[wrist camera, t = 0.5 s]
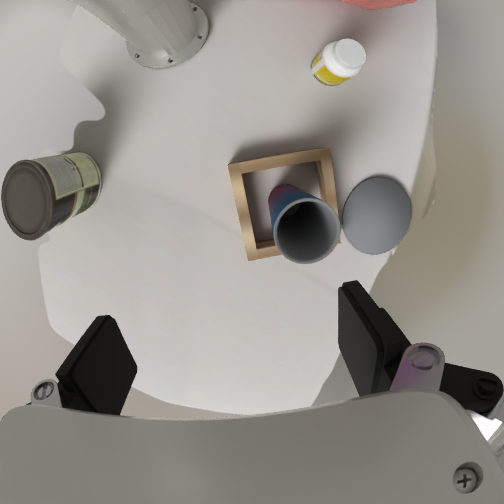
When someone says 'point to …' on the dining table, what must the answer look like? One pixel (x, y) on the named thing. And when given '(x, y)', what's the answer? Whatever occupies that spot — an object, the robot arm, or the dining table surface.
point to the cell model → (377, 3)
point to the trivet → (376, 215)
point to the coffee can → (49, 192)
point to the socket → (238, 168)
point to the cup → (302, 225)
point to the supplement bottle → (338, 62)
